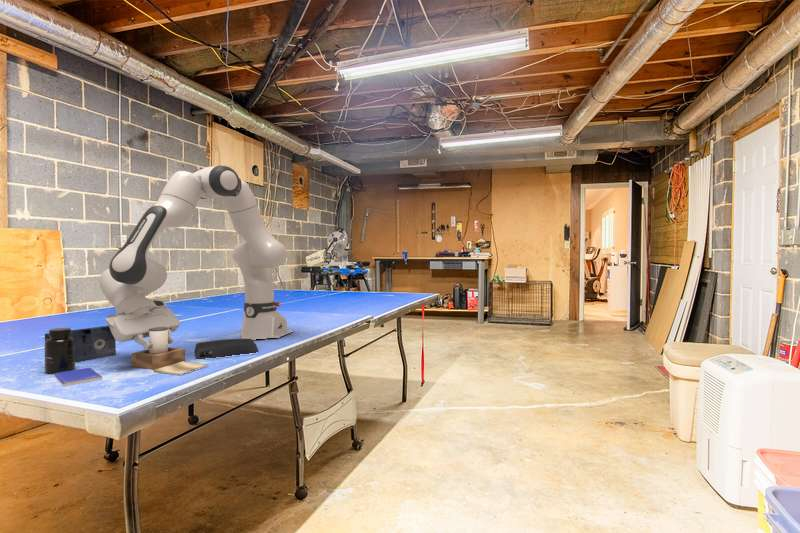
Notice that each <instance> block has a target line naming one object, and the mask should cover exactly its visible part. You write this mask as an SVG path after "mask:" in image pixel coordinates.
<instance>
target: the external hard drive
mask: <svg viewBox="0 0 800 533" xmlns="http://www.w3.org/2000/svg"><path fill="white" fill-rule="evenodd" d="M193 352H194V353H195V354H194V358H196V359H204V360H206V359H205V358H216V357H225V356H232V355H240V354H249V353H256V352H259V348H258V346H257V344H256V342H254V340H252V339H242V338H231V339H218V340H217V339H216V340H209V341H202V342H198V343H196V345H195V348H194V351H193ZM196 359H195V360H196ZM216 359H217V358H216Z"/></svg>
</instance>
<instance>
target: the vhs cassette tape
mask: <svg viewBox="0 0 800 533" xmlns="http://www.w3.org/2000/svg"><path fill="white" fill-rule="evenodd" d="M70 337H72V338H74V339H75V364H77V363H81V361H82V362H87V361H92V359H93V360H96V359H97V358H98V359H102V358H107V357H112V356H116V353H117V350H116V348H117V344H116V342H117V341H116V340H115V338H114V336H113V335H112V333H111V330H110V327H109V325H103V326H102V325H101V326H96V327H95V326H94V327H88V328H78V329H71V335H70ZM48 339H50V337H49V332H48V333H44V343H45V342H46V341H47V340H48ZM86 360H87V361H86ZM76 362H77V363H76Z"/></svg>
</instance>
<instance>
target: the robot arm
mask: <svg viewBox="0 0 800 533" xmlns="http://www.w3.org/2000/svg"><path fill="white" fill-rule="evenodd" d="M218 198H220V199H222V201H223V202H224V203H225V208H226V210H227V213H228V215H229V218H230V221H231V224H232V226H233V229H234V231H235V232H236V233H237V235H239V236H240V237H242V238H243V240H244V241H243V242H240V243H238V244H237V245H235V246H234V248H233V249H232V258H233V261H234V262H235V263H236V265H237V266H238V267H239V269H240V271H241V276H242V278H243V283H244V303H243V312H244V314H243V316H242V324H241V325H242V326H241V332H239V336H240V339H252V340H253V341H257V340H256V339H265V340H267V339H266V338H278V339H280V338H279V337H281V336H283V335H285V334H287V333H289V332H291V331H293V332H294V330H293V329H291V328H288V320H287V318H286V317H285V316H283V315H282V314H281V313H280V312H279V311H278V310H277V307H281V302H280V301H274V300H275V291H274V289H275V287H274V286H275V284H274V282H273V280H272V279H271V278H270V276H269V274H268V273H267V272H268V271H267V270H266V269H272V268H273V269H274V268H277V267H281V266H282V265H284V264H285V262H286V260H287V256H288V252H287V248H286V247H285V245H284V244H283V243H281V242H280V241H278V240H277V239H276V238H275V237H274V236H273V234H272V233H271V232H270V230H269V229H268V227H267V226H266V224H265V221H264V219H263V216H262V214H261V211H260V208H259V206H258V203H257V200H256V198H255V196H254V193H253V191H252V190H251V188H250V186H249V185H248V183H247V182H246V181H245V180H243V179H241V178H240V177H239V175H238V173H237V172H236V171H235V170H234V169H233V168H232V167H229V166H228V165H227V166H226V165H216V166H215V165H214V166H206V167H204V168H201V169H196V170H194V171H192V172H190V171H187V170H178V171H176V172H174V173H173V174H172V175H171V177H170V178H169V180H168V181H167V183H166V184H165V186H164V188H163V189H162V191H161V194H160V196H159V198H158V200H157V201H156V202H155V204H154V205H152V206H151V207H149V208H148V209H146V211H145V212H144V213H143V215H142V217H141V218H140V219H139V221H138V223H137V224H136V226H135V227H134V229H133V231H132V232H131V233H130V235H129V237H128V238H127V240H126V241H125V243H124V245H123V246H122V247H121V248H120V249H119V250H117V252H116V253H115V254H114V255H113V257H112V258H111V260H110V262H109V266H108V267H109V268H107V269H106V270H104V271H103V272H102V273H101V274H100V277H99V279H98V282H99V283H98V284H99V287H100V289H101V292H102V293H103V295H104V296H105V298H106V300H107V301H108V303H110V304H111V305H112V306H113V307H114V311H115V314H108V316H106V317H105V319H104V320H105V323H106V324H107V326H109V327H110V330H111V333H112V335H113V336H114V338H115V340H116V342H118V343H125V342H131V341H134V342H135V343H136V344H139V345H141V346H142V347H143V348H144V350H148V349H149V348H151V347H152V346H153V344H152V343H151V341H149V340H147V339H145V338H149V329H150V328H156V327H168V345H170V344H172V343H174V338H173V337H172V333H174V332H176V331H177V330H178V328H179V327H180V326H181V325H180V324H181V322H180V320H179V318H178V317H177V316H176V314H175V313H174V312H173V311H172V310H171V309H170V308H168V307H167V306H168V304H167V303H166V302H165V301H163V300H157V299H152V298H149V297H148V298H147V297H146V296H147V295H149V294H151V293H154V292H155V291H156V290H158V289H160V288H161V287H162V286H164V284H165V282H166V280H167V277H168V276H167V275H168V272H167V269H166V268H165V267H164V265H163V264H162V263H161V264H160V263H159V262H157V261H155V260H153V259H151V258H149V257H148V251H149V250H150V247H151V246H152V244H154V243H153V242H154V241H155V240H156V238H157V236H158V234H160V232H161V231H162V230H163V229H167V228H169V229H170V228H171V229H173V228H175V229H176V228H180V227H183V226H185V225H187V224H188V223H189V222H190V220H191V219H192V217H193V215H194V213H195V210H196V208H197V206H198V204H199V203H198V202H199V201H200V200H201V199H203V200H207V199H209V200H211V199H218ZM281 338H282V337H281Z"/></svg>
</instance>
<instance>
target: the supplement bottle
mask: <svg viewBox="0 0 800 533" xmlns="http://www.w3.org/2000/svg"><path fill="white" fill-rule="evenodd" d="M71 330H72V329H71V328H70V327H57V328H51V329H49V330H48V333H49V337H50V339H48V340H47V341H46V342H45V341H44V372H45V373H46V374H54V373H59V372H65V371H72V370H75V368H76V363H75V339H74V338H72V337H70V335H71ZM54 375H55V374H54Z"/></svg>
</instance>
